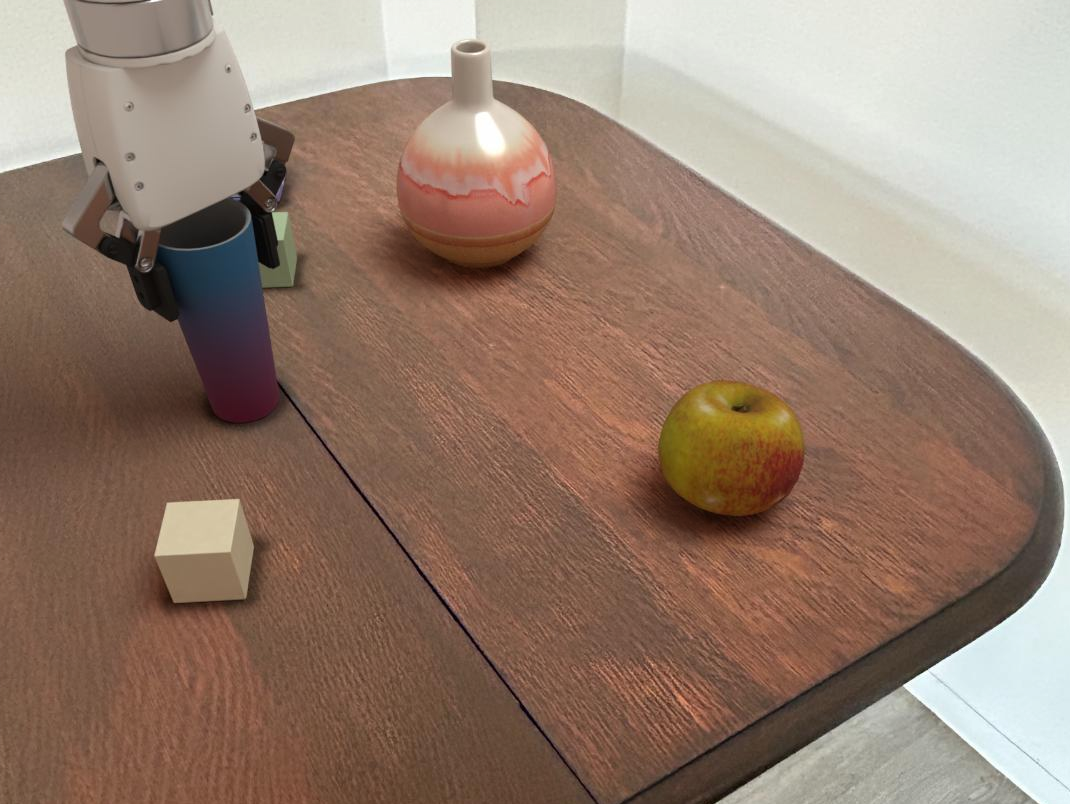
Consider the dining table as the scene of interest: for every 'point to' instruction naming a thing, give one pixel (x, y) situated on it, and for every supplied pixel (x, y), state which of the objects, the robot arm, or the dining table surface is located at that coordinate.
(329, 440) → the dining table surface
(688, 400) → the fruit
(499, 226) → the vase
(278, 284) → the sage block
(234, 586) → the cream block
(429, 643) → the dining table surface
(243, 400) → the cup
